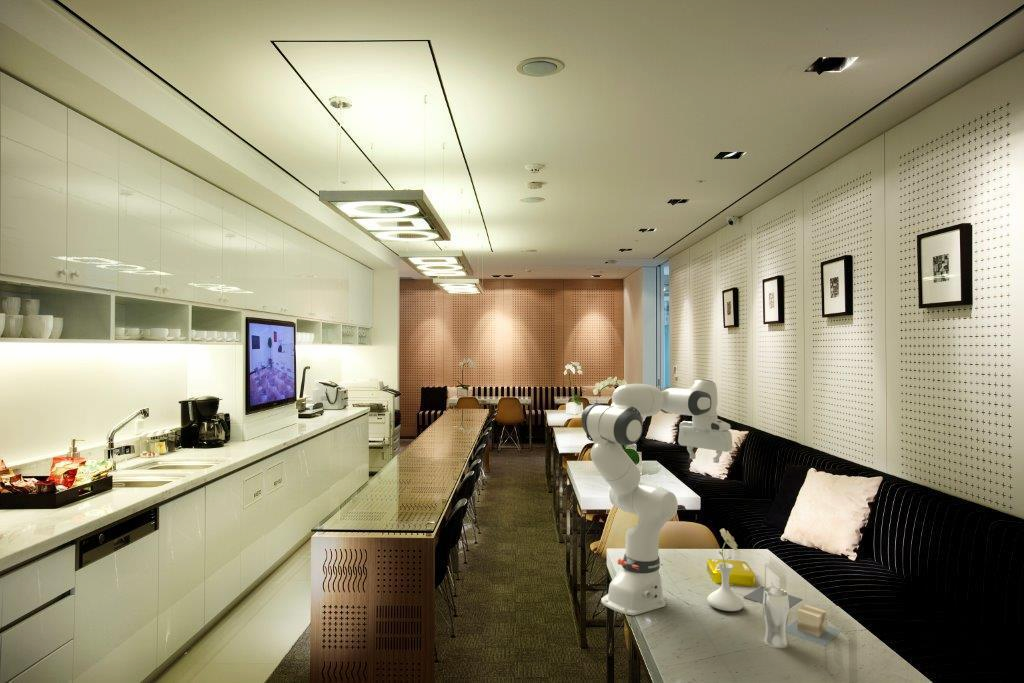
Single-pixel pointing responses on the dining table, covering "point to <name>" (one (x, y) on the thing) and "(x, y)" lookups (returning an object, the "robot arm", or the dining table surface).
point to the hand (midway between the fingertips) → (704, 460)
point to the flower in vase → (725, 582)
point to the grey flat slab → (820, 640)
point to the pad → (758, 597)
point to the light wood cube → (812, 620)
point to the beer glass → (775, 616)
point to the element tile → (732, 572)
